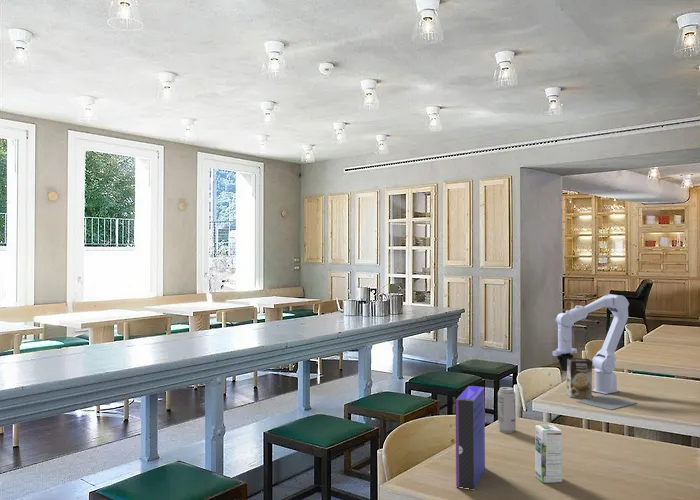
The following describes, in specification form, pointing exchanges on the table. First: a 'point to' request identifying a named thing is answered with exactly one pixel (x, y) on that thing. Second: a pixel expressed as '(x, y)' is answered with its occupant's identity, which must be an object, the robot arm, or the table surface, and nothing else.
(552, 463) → the syrup box
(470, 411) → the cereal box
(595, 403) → the mat
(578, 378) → the coffee box
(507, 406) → the energy drink can
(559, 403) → the table surface
